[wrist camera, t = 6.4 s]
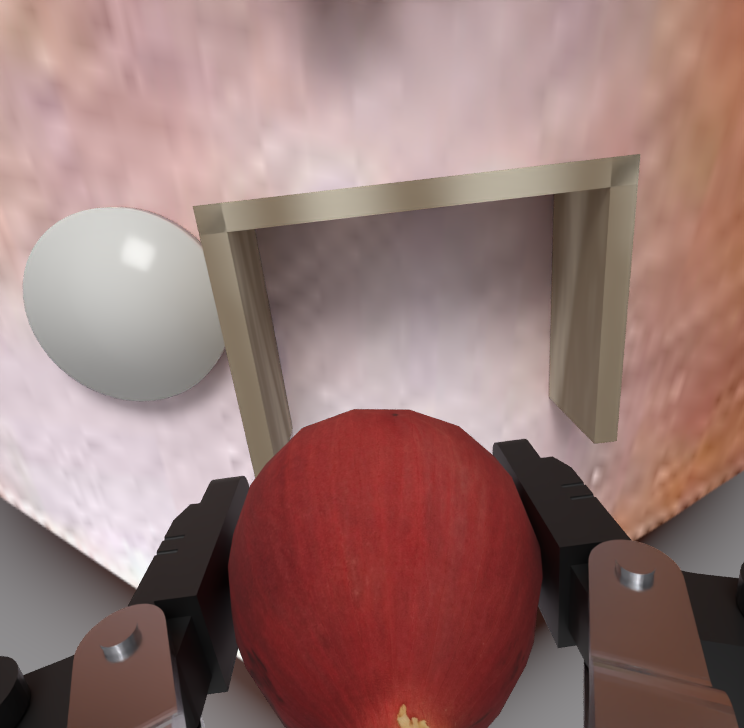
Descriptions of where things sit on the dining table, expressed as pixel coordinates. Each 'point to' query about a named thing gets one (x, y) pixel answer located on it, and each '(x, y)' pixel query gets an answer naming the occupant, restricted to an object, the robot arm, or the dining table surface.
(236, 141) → the dining table surface
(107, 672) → the robot arm
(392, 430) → the onion
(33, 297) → the white flat disc
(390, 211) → the wooden plank arch
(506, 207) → the dining table surface
